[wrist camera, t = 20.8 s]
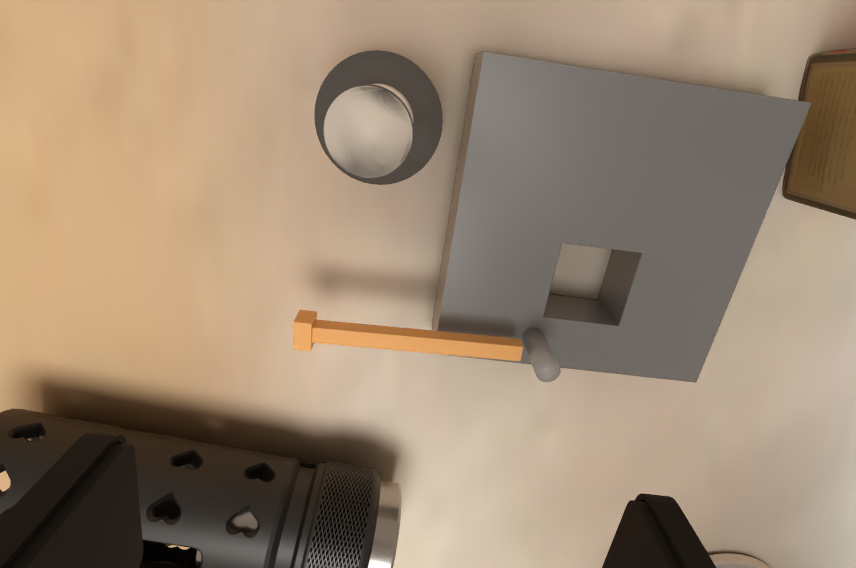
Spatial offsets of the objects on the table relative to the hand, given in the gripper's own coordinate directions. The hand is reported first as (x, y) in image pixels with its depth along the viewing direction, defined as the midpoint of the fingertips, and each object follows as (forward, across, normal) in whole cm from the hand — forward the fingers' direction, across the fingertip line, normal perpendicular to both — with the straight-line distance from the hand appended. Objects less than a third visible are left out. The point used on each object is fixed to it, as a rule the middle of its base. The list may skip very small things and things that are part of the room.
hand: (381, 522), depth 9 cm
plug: (+25, +2, -6) cm, 26 cm away
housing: (+25, -12, -1) cm, 28 cm away
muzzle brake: (+26, +12, +22) cm, 36 cm away
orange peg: (+20, -1, +6) cm, 21 cm away
